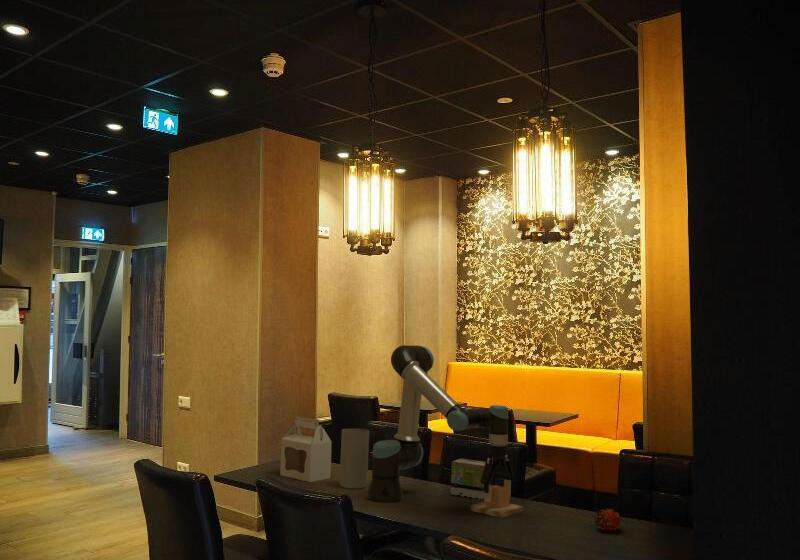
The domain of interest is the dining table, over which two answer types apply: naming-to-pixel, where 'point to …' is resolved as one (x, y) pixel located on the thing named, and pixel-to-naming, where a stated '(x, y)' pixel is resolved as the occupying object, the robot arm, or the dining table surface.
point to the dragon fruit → (607, 520)
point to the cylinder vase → (354, 458)
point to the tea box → (467, 478)
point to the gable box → (298, 445)
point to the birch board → (497, 510)
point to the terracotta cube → (499, 497)
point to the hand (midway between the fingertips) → (497, 498)
